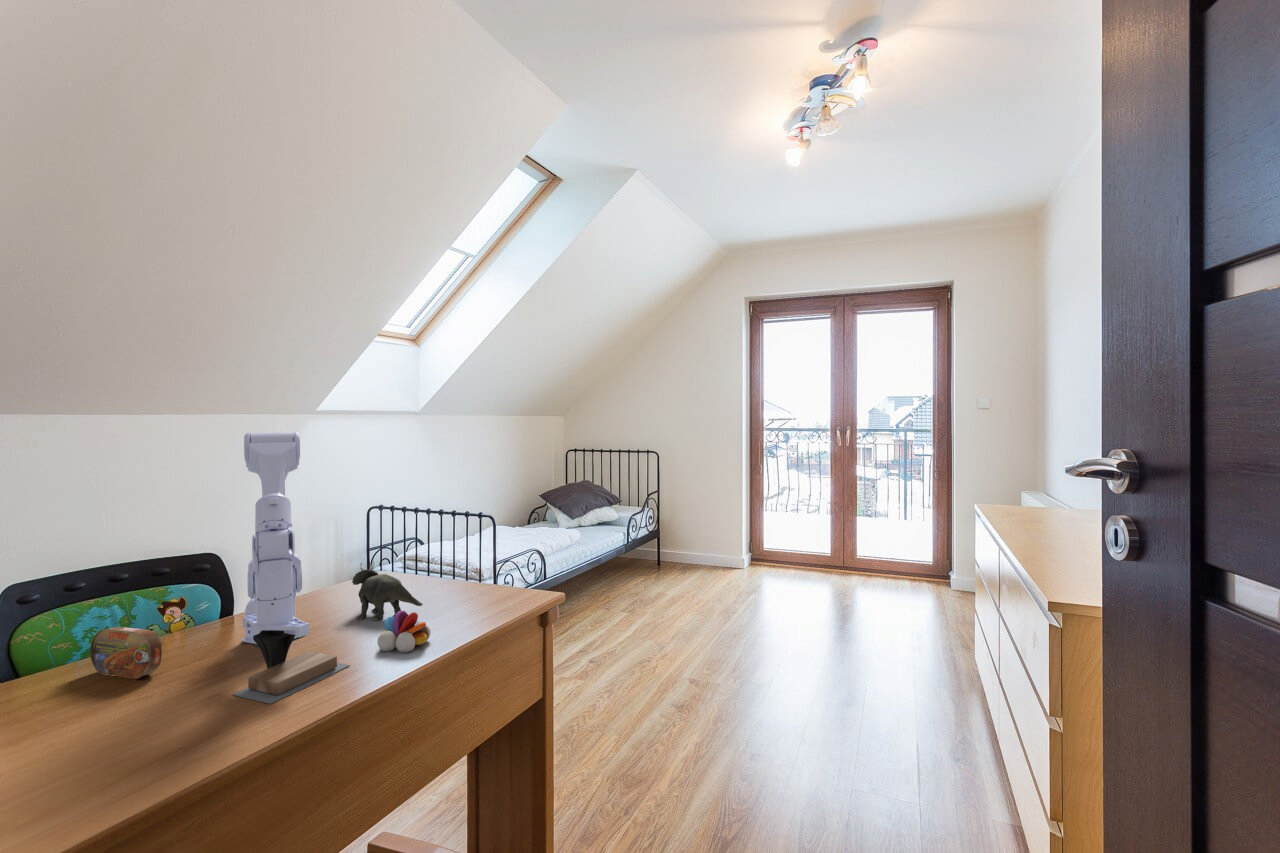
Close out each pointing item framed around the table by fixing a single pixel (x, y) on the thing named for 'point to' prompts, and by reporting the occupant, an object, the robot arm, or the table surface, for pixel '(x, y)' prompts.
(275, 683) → the wooden block
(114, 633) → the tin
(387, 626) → the rainbow petal rattle
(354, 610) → the table surface
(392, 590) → the dinosaur figurine
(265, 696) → the felt mat
